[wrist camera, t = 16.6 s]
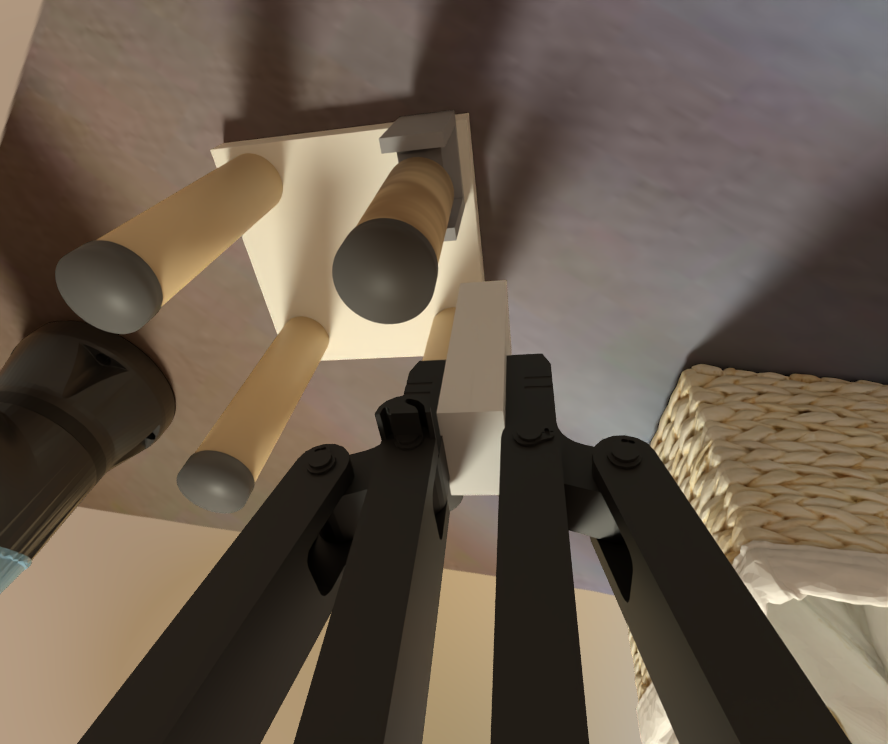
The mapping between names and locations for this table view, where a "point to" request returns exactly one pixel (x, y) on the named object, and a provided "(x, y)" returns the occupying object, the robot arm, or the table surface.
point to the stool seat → (280, 272)
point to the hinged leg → (397, 242)
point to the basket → (792, 523)
